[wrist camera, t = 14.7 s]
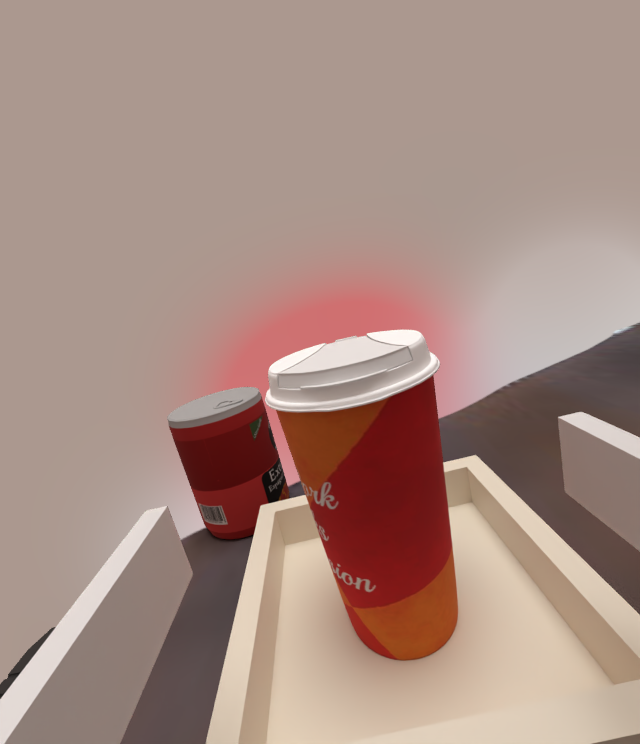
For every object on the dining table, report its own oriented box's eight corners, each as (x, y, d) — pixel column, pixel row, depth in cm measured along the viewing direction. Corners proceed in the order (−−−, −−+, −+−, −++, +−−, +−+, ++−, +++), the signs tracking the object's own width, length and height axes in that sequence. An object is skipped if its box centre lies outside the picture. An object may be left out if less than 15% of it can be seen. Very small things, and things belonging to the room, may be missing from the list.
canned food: (297, 522, 30) (261, 399, 27) (201, 555, 28) (155, 430, 26) (286, 479, 37) (258, 380, 35) (210, 504, 36) (175, 403, 33)
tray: (483, 503, 26) (475, 455, 25) (736, 809, 11) (738, 711, 10) (275, 551, 27) (260, 505, 26) (226, 914, 11) (186, 829, 10)
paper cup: (335, 559, 23) (279, 350, 20) (458, 544, 22) (418, 319, 19) (323, 696, 15) (229, 393, 12) (510, 686, 14) (457, 346, 11)
